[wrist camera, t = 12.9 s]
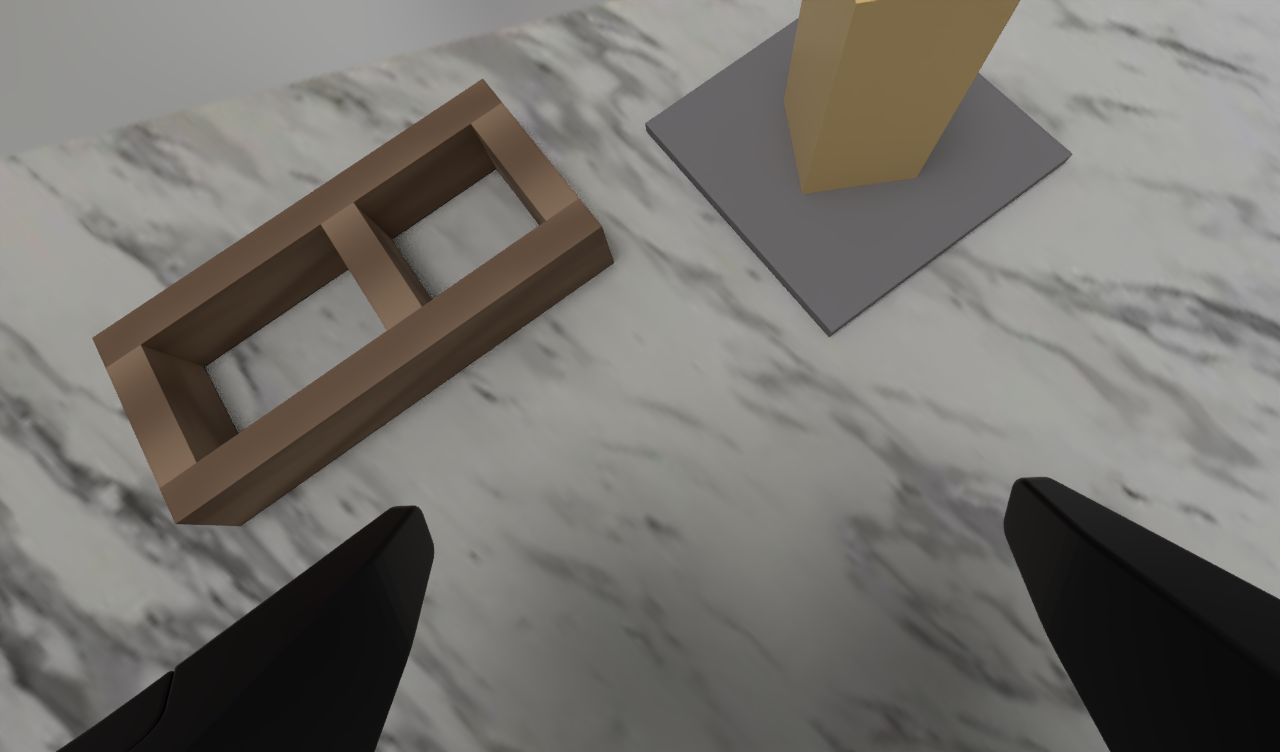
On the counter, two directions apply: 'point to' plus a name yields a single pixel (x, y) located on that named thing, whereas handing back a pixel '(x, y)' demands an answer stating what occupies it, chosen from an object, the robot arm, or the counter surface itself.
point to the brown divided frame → (362, 242)
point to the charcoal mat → (849, 217)
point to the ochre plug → (881, 83)
